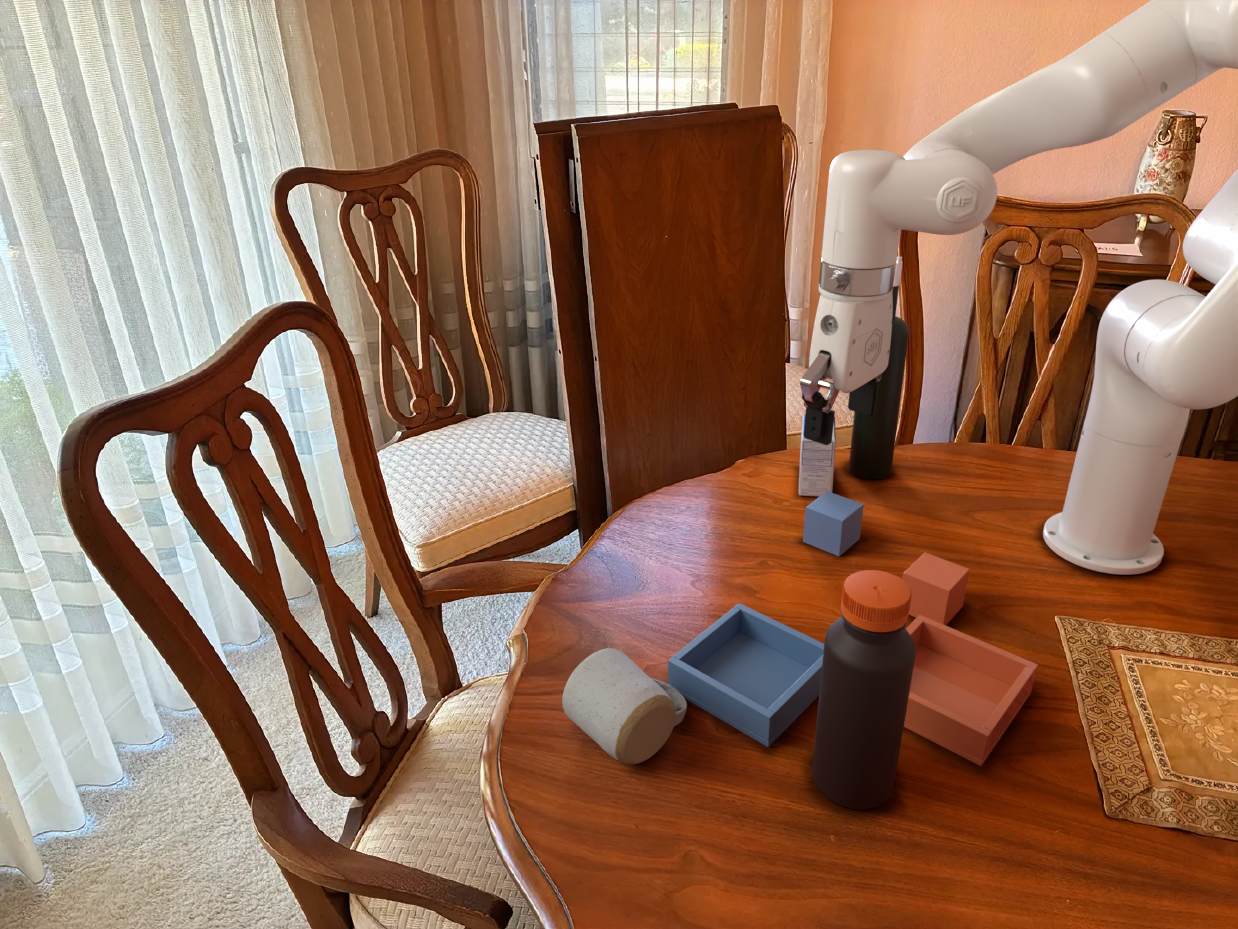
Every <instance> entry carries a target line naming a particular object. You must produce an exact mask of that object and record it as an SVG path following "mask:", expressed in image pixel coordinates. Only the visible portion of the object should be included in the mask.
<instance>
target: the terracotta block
mask: <svg viewBox="0 0 1238 929" xmlns="http://www.w3.org/2000/svg"><path fill="white" fill-rule="evenodd" d="M969 575H970V568H969V567H966V566H962V565H960V564H957V563H956V562H955V563H954V562H952V561H950V560H946V559H944V558H941V557H939V556H936V555H934V554H930V553H928V552H926V551H925V552H924V553H923V554H921V555H920V557H918V558H917V559H916V560H915V561H914V562H913V563H912V564H911V565H910V566H909V567H908V568H906V570H905V571H904V572H903V575H902V580H903V581H905V583H907V585H908V586H909V588H910V590H911V591H912V592H911V593H912V597H911V603H910V610H909V616H911V617H913V618H914V619H916V618H917V616H918V615H922V616H924V617H927V618H929V619H931V620H934V621H936V622H938V623H941V624H943V625H946V626H948V624H949V623H950V621H951V620H953V618H954V617H955V616H956V615H957V613H959V612H960V610H961V609H962V608H963V606H964V602H965V597H966V596H965V595H966V591H967V585H968V581H969V580H968V579H969Z"/></svg>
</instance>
